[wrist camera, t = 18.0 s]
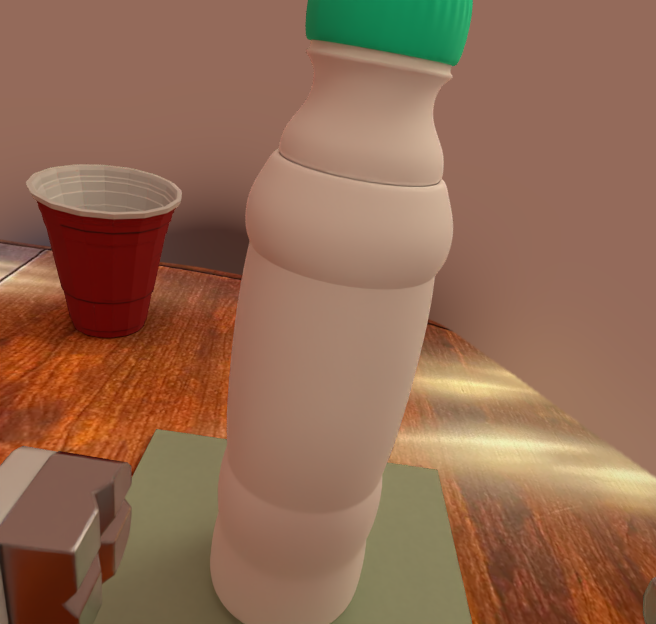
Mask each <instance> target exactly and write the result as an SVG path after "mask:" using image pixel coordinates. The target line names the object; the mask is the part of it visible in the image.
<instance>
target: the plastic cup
mask: <svg viewBox="0 0 656 624" xmlns="http://www.w3.org/2000/svg"><path fill="white" fill-rule="evenodd" d="M26 184H27V187H28V189H29V191H30V193H31V195H32V197H33V199H35V200H36V201H37V203H38V207H39V209H40V211H41V213H42V217H43V221H44V223H45V225H46V228H47V232H48V236H49V240H50V244H51V248H52V252H53V256H54V260H55V263H56V267H57V271H58V275H59V279H60V283H61V287H62V289H63V290H64V294H65V298H66V302H67V307H68V311H69V315H70V317H71V319H72V322H73V324H74V326H75V328H76V329H77V330H78V331H80V332H82V333H84V334H86V335H91V336H95V337H107V338H113V337H120V336H127V335H129V334H132V333H135V332H137V331H139V330H140V329H141V328H142V327H143V326H144V323H145V320H146V319H147V314H148V309H149V304H150V299H151V294H152V292H153V290H154V285H155V281H156V276H157V271H158V267H159V262H160V257H161V253H162V248H163V243H164V239H165V234H166V233H167V230H168V226H169V222H170V221H171V218H172V214H173V213H174V210H175V209H176V207H177V206H179V205H180V202H181V196H182V191H181V190H180V189H179V188H178V187H177V186H176V185H175V184H174V183H173V182H171V181H169V180H166V179H164V178H162V177H160V176H157V175H155V174H151V173H147V172H143V171H140V170H136V169H132V168H125V167H117V166H109V165H79V164H78V165H77V164H76V165H67V166H59V167H51V168H49V169H46V170H42V171H40V172H37V173H34V174H33V175H32V176H31V177H30V178H29V179H28V181H27V182H26Z"/></svg>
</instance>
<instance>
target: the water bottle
mask: <svg viewBox="0 0 656 624" xmlns="http://www.w3.org/2000/svg"><path fill="white" fill-rule="evenodd" d="M472 2H473V0H308V4H307V11H306V12H307V13H306V36H307V38H308V39H309V40H311V43H310V47H309V48H307V49H306V53H307V54H308V56H309V58H310V60H311V62H312V65H313V69H314V77H313V83H312V88H311V91H310V93H309V95H308V97H307V99H306V101H305V102H304V103H303V105H302V106H301V107H300V108H299V110H298V111H297V112H296V113H295V114H294V116H293V117H292V118H291V120H290V121H289V122H288V124H287V125H286V127H285V129H284V131H283V134H282V136H281V140H280V144H279V149H277V150H275V151H274V152H273V153H272V154H271V156H270V157H269V159H268V160H267V162H266V164H265V165H264V166H263V168H262V170H261V171H260V173H259V174H258V176H257V178H256V180H255V181H254V183H253V186H252V188H251V190H250V193H249V196H248V200H247V206H246V216H245V221H246V230H247V234H248V237H249V240H250V243H249V247H248V251H247V256H246V260H245V265H244V270H243V275H242V281H241V286H240V292H239V299H238V305H237V312H236V320H235V328H234V336H233V345H232V355H231V365H230V376H229V389H228V405H227V447H226V449H225V452H224V455H223V459H222V463H221V468H220V474H219V482H218V510H219V512H218V515H217V519H216V522H215V527H214V532H213V538H212V545H211V555H210V572H211V579H212V583H213V586H214V589H215V591H216V594H217V595H218V597H219V599H220V600H221V602H222V604H223V605H224V606H225V607H226V609H227V610H228V611H229V612H230V613H231V614H232V615H233V616H234V617H236V618H237V619H238V620H240V621H241V622H242V623H244V624H330V623H331V622H333V621H334V620H335V619H337V618H338V617H339V616H340V615H341V614H342V613H343V612H344V610H345V609H346V608H347V606H348V605H349V603H350V602H351V600H352V598H353V596H354V593H355V591H356V588H357V585H358V582H359V578H360V574H361V570H362V566H363V561H364V555H365V548H366V539H367V537H368V535H369V533H370V531H371V528H372V526H373V523H374V520H375V517H376V514H377V510H378V506H379V502H380V497H381V491H382V474H383V472H384V469H385V467H386V464H387V462H388V459H389V457H390V454H391V451H392V449H393V446H394V443H395V440H396V437H397V434H398V431H399V428H400V425H401V421H402V418H403V415H404V412H405V408H406V405H407V401H408V398H409V394H410V391H411V387H412V383H413V379H414V376H415V372H416V368H417V364H418V360H419V356H420V352H421V348H422V344H423V340H424V335H425V331H426V326H427V322H428V316H429V311H430V305H431V299H432V294H433V287H434V281H435V275H436V274H437V272H439V270H440V269H441V268H442V266H443V264H444V263H445V261H446V258H447V256H448V253H449V250H450V247H451V242H452V236H453V219H452V212H451V206H450V201H449V196H448V191H447V187H446V184H445V182H444V181H443V180H442V179H441V178H442V175H443V167H444V159H443V152H442V148H441V145H440V142H439V139H438V136H437V133H436V129H435V126H434V121H433V107H434V102H435V98H436V95H437V93H438V91H439V89H440V88H441V87H442V86H443V85H444V84H445V83H446V82H447V81H449V80H450V79H452V77H453V76H452V75H451V73H450V71H451V66H455V65H457V63H458V62H459V59H460V57H461V55H462V52H463V49H464V46H465V43H466V39H467V35H468V31H469V27H470V21H471V16H472V4H473V3H472Z"/></svg>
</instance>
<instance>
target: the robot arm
mask: <svg viewBox="0 0 656 624" xmlns="http://www.w3.org/2000/svg"><path fill="white" fill-rule="evenodd" d="M131 484H132V478H131V465H129V464H128V463H127V462H121V461H115V460H109V459H103V458H97V457H91V456H85V455H79V454H73V453H67V452H61V451H58V452H56V451H50V450H44V449H38V448H33V447H27V446H22V447H20V448H18V449H16V450H14V451H13V452H11V453H10V455H9V456H8V457H7V458H6V459H5V460H4V462H3V463H2V464H1V465H0V624H93V623H94V621H95V619H96V616H97V614H98V612H99V610H100V608H101V605H102V584H103V583H105V582H106V581H107V580H109V579H110V578H112V577H113V576H114V575H115V574H116V572H117V569H118V567H119V565H120V562H121V560H122V558H123V555H124V551H125V548H126V544H127V541H128V538H129V533H130V526H131V514H132V507H131V506H130V504H129V503H128V502H127V501H126V499H125V496H126V494H127V492H128V490H129V488H130V486H131ZM643 616H644V619H645V623H646V624H656V577H654V578H653V579H651V581H650V583H649V585H648V587H647V589H646V591H645V593H644V595H643Z"/></svg>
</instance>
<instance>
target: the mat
mask: <svg viewBox="0 0 656 624" xmlns="http://www.w3.org/2000/svg"><path fill="white" fill-rule="evenodd" d="M226 447H227V439H221V438H214V437H207V436H201V435H194V434H187V433H180V432H173V431H166V430H159V429H156V431H155V433H154V435H153V437H152V439H151V441H150V443H149V445H148V447H147V449H146V451H145V453H144V454H143V456H142V458H141V460H140V462H139V464H138V466H137V468H136V470H135V472H134V474H133V476H132V484H131V486H130V488H129V490H128V492H127V494H126V496H125V499H126V501H127V502H128V503H129V504H130V506H131V507H132V514H131V526H130V533H129V538H128V541H127V544H126V548H125V551H124V555H123V558H122V560H121V562H120V565H119V567H118V569H117V572H116V574H115V575H114V576H113V577H112V578H110V579H109V580H107V581H106V582H105V583H103V584H102V605H101V608H100V610H99V612H98V614H97V616H96V619H95V621H94V623H93V624H244V623H242V622H241V621H240V620H238V619H237V618H236V617H234V616H233V615H232V614H231V613H230V612H229V611H228V610H227V609H226V607H225V606H224V605H223V604H222V602H221V600H220V599H219V597H218V595H217V594H216V591H215V589H214V586H213V583H212V579H211V572H210V555H211V545H212V538H213V532H214V527H215V522H216V519H217V515H218V512H219V510H218V482H219V474H220V468H221V463H222V459H223V455H224V452H225V449H226ZM330 624H472V620H471V616H470V612H469V607H468V603H467V598H466V594H465V590H464V585H463V581H462V576H461V572H460V568H459V563H458V559H457V554H456V550H455V546H454V541H453V537H452V532H451V528H450V524H449V519H448V515H447V510H446V506H445V502H444V497H443V493H442V488H441V484H440V480H439V475H438V471H437V470H435V469H428V468H421V467H414V466H407V465H400V464H393V463H387V464H386V467H385V469H384V472H383V474H382V491H381V497H380V502H379V506H378V510H377V514H376V517H375V520H374V523H373V526H372V528H371V531H370V533H369V535H368V537H367V539H366V548H365V555H364V561H363V566H362V570H361V574H360V578H359V582H358V585H357V588H356V591H355V593H354V596H353V598H352V600H351V602H350V603H349V605H348V606H347V608H346V609H345V610H344V612H343V613H342V614H341V615H340V616H339V617H338V618H337V619H335V620H334V621H333V622H331V623H330Z"/></svg>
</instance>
